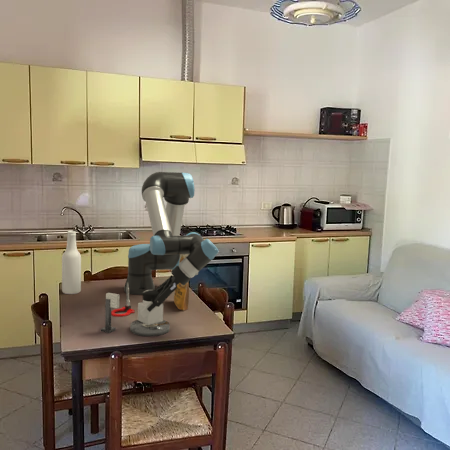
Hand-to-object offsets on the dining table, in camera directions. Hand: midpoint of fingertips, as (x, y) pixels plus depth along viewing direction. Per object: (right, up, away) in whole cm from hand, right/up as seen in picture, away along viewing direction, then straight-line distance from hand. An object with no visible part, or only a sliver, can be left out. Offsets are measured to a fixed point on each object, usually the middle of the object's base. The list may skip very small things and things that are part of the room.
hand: (142, 311), depth 181 cm
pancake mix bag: (+12, -4, +34) cm, 36 cm away
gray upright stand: (-13, -7, -2) cm, 15 cm away
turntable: (+3, -7, +1) cm, 8 cm away
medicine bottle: (+3, -4, +1) cm, 5 cm away
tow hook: (-12, -5, +19) cm, 23 cm away
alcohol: (-43, 0, +48) cm, 65 cm away
